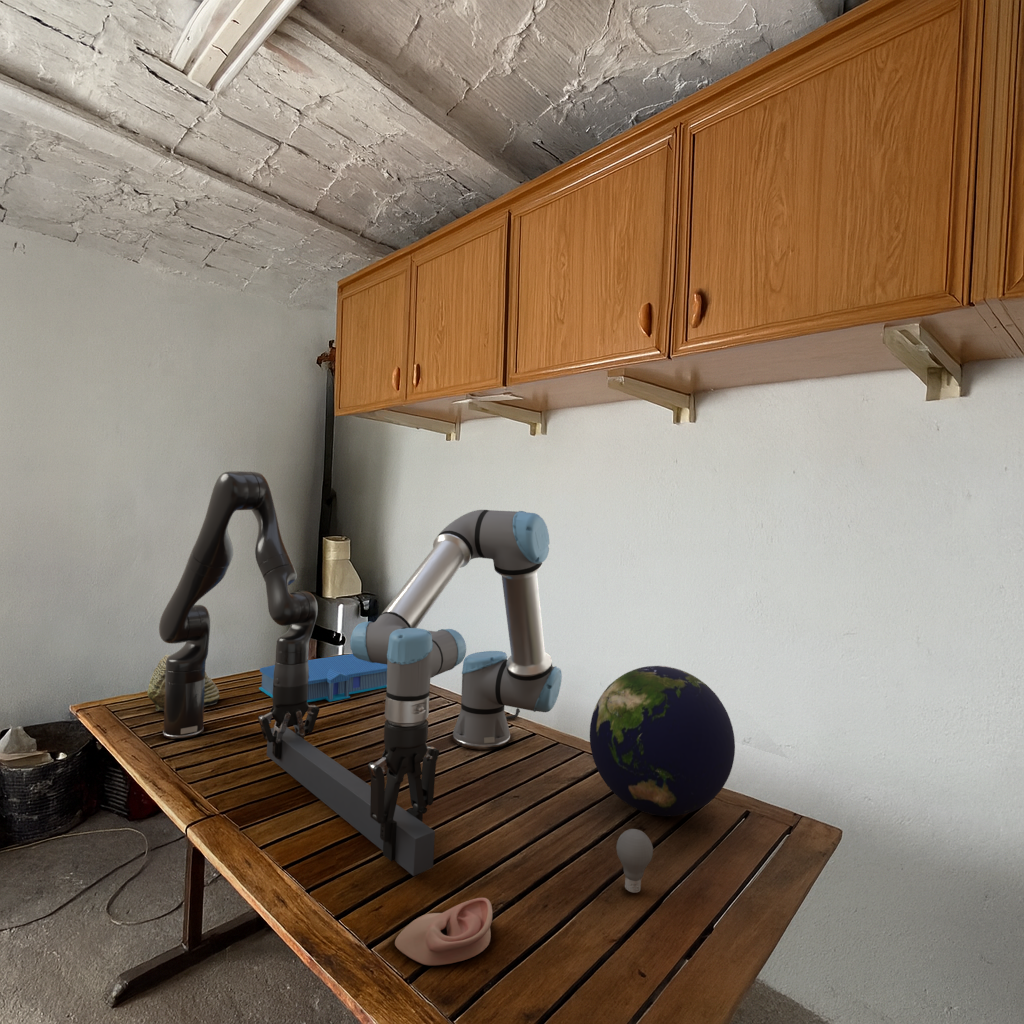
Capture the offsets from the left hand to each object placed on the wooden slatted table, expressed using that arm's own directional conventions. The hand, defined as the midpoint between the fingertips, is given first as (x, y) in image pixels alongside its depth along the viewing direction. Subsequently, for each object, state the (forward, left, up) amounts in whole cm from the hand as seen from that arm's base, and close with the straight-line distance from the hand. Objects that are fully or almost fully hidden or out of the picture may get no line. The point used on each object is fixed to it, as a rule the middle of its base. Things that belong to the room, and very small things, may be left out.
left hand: (287, 755), depth 144 cm
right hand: (+46, 0, -2) cm, 46 cm away
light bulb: (+77, +26, -4) cm, 81 cm away
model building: (-52, +38, -4) cm, 65 cm away
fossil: (-61, -4, -4) cm, 61 cm away
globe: (+63, +54, -4) cm, 83 cm away
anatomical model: (+66, -5, -4) cm, 66 cm away
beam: (+23, 0, -2) cm, 23 cm away
